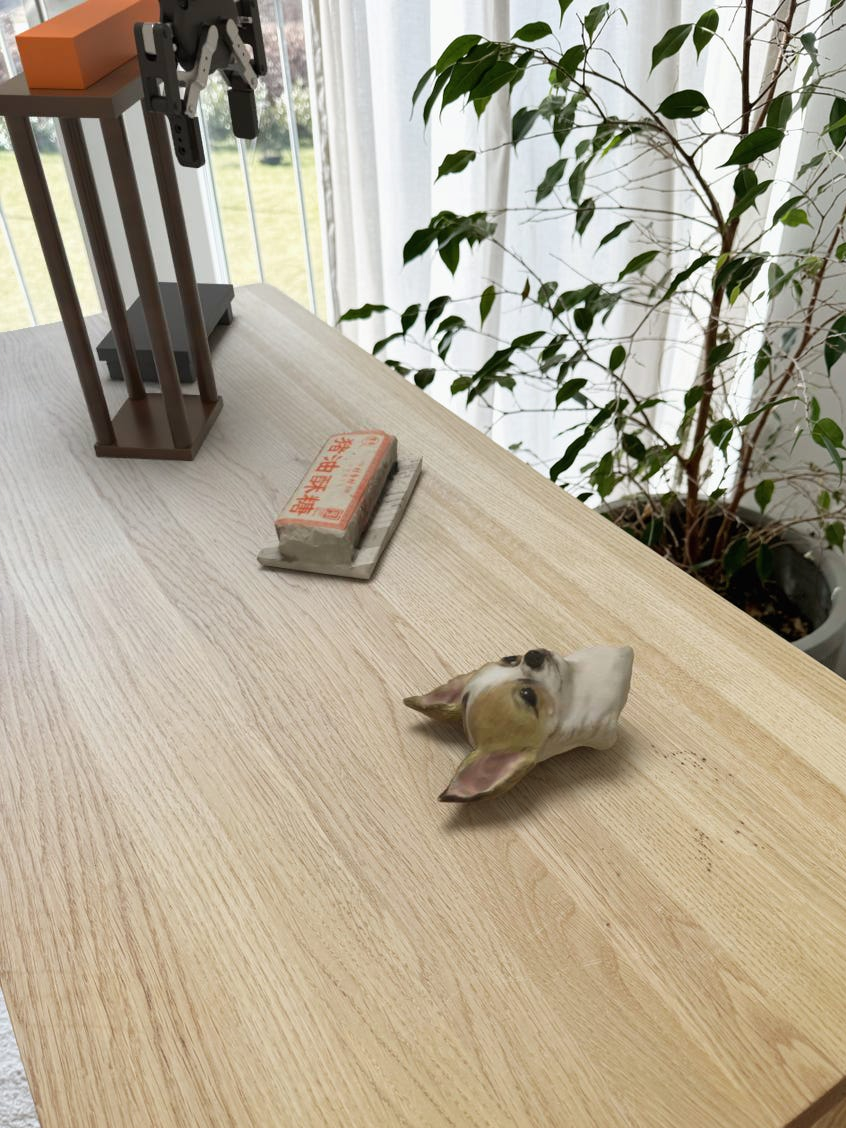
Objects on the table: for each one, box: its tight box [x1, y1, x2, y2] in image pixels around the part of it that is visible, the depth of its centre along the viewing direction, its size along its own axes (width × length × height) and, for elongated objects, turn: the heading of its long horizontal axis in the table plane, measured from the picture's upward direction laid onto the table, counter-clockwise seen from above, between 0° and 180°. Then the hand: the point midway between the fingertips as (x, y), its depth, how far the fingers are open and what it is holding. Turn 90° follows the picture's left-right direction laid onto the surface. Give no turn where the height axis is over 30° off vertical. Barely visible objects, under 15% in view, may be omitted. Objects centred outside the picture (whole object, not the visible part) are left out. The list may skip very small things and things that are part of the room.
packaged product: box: [256, 428, 424, 580], centre depth 88 cm, size 18×5×10 cm
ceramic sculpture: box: [402, 644, 635, 804], centre depth 66 cm, size 11×9×15 cm
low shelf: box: [95, 281, 236, 384], centre depth 114 cm, size 18×10×4 cm, turn 175°
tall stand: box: [0, 55, 224, 461], centre depth 91 cm, size 14×10×32 cm
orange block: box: [14, 0, 160, 89], centre depth 83 cm, size 20×4×4 cm, turn 175°
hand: (220, 151), depth 85 cm, fingers open, 8 cm apart
